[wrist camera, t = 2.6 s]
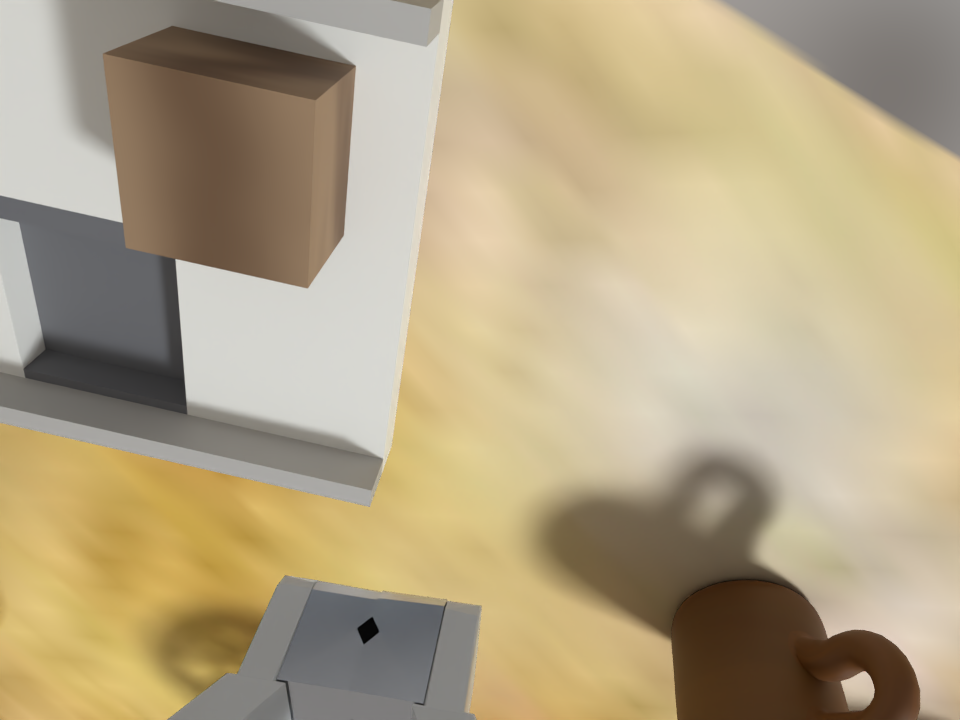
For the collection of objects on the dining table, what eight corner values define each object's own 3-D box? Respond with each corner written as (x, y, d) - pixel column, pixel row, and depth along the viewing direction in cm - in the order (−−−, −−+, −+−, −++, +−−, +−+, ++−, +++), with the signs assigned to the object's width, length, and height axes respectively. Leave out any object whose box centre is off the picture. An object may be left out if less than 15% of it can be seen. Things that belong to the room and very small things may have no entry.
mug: (791, 498, 34) (847, 690, 26) (923, 565, 35) (1013, 767, 27) (640, 629, 40) (649, 812, 32) (755, 681, 41) (790, 870, 34)
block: (355, 65, 23) (315, 100, 20) (343, 235, 27) (307, 288, 24) (172, 25, 23) (102, 53, 20) (184, 200, 27) (125, 248, 24)
